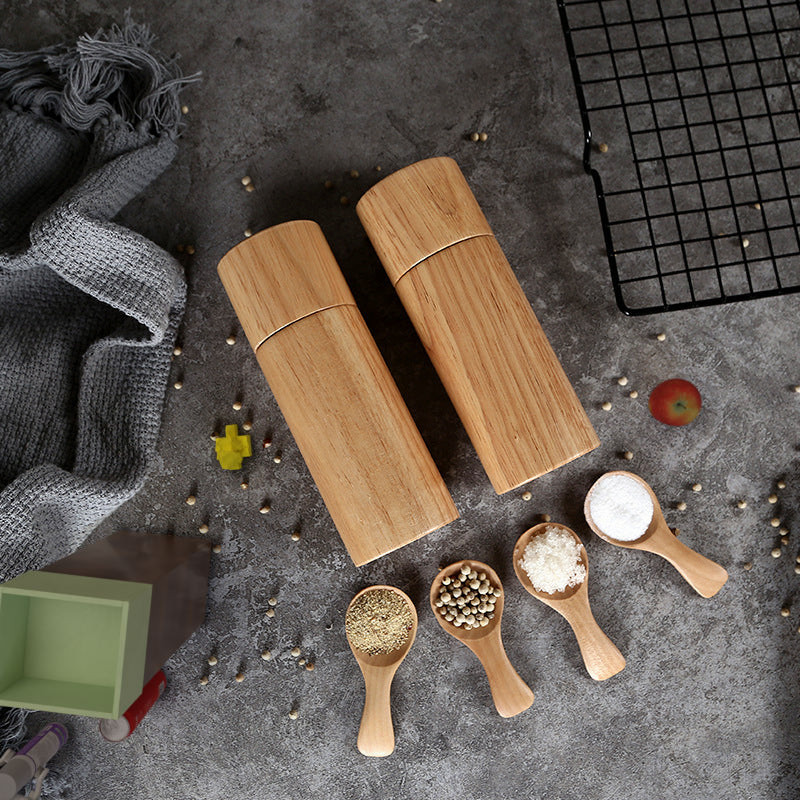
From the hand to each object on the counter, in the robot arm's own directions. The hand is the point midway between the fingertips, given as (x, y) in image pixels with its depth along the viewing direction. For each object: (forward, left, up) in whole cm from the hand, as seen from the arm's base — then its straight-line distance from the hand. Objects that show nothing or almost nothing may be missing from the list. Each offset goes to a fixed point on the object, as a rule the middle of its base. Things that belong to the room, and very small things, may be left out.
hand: (28, 759), depth 107 cm
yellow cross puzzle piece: (+26, +54, -12) cm, 61 cm away
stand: (+15, +29, -12) cm, 35 cm away
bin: (+15, +29, +15) cm, 36 cm away
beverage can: (+15, +9, -12) cm, 21 cm away
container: (0, -1, -9) cm, 9 cm away
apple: (+102, +71, -12) cm, 125 cm away
